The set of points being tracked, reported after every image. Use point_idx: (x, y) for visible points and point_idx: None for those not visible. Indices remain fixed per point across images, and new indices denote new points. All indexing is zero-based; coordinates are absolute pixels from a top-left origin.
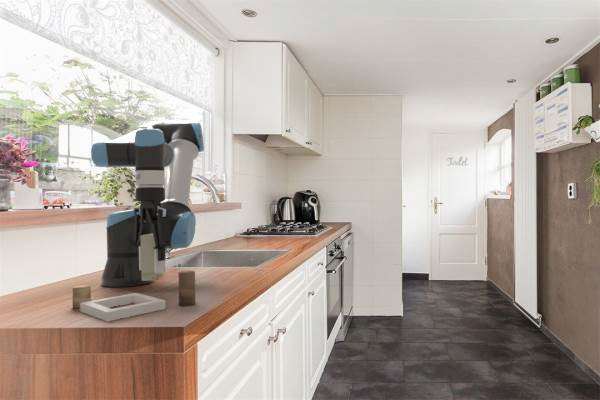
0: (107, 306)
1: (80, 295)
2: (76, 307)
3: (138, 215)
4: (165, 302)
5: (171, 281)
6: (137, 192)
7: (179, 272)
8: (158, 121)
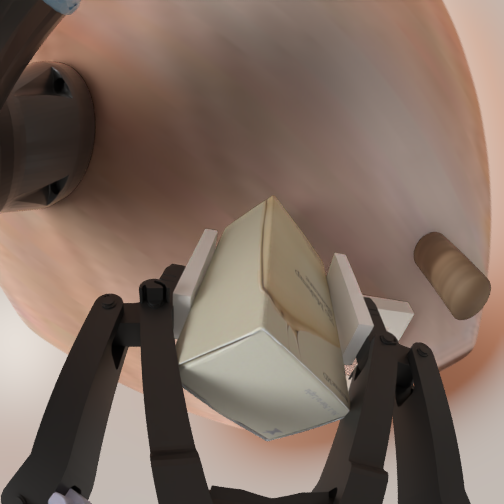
0: None
1: None
2: None
3: (83, 496)
4: (412, 311)
5: (127, 26)
6: None
7: (455, 313)
8: None
